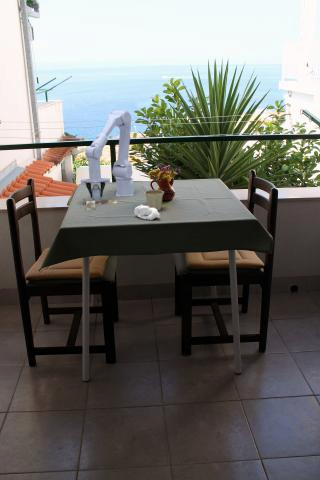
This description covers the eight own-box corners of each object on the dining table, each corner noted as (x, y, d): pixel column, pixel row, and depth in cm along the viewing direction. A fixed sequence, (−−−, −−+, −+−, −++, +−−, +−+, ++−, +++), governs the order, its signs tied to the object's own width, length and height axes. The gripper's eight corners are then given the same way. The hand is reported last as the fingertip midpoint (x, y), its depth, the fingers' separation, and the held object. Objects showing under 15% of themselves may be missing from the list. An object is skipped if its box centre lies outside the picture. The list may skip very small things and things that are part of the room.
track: (116, 200, 256) (116, 197, 256) (116, 204, 251) (116, 200, 250) (83, 202, 255) (83, 198, 254) (83, 205, 249) (83, 201, 249)
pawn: (101, 198, 254) (100, 182, 251) (101, 201, 250) (100, 185, 247) (92, 199, 254) (91, 183, 251) (92, 201, 250) (91, 185, 247)
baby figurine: (162, 220, 226) (154, 208, 220) (139, 229, 229) (130, 217, 223) (161, 207, 232) (154, 195, 226) (138, 216, 235) (130, 204, 229)
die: (95, 208, 245) (94, 200, 244) (95, 210, 241) (94, 202, 240) (87, 208, 245) (86, 201, 243) (86, 211, 241) (86, 203, 240)
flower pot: (154, 205, 247) (154, 188, 244) (168, 209, 241) (168, 191, 238) (140, 209, 241) (140, 192, 238) (154, 213, 235) (153, 195, 232)
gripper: (79, 173, 242) (81, 200, 247) (109, 171, 244) (111, 198, 249) (80, 170, 249) (82, 196, 254) (109, 168, 250) (110, 194, 255)
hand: (96, 197), depth 252 cm, fingers closed on pawn, 4 cm apart
